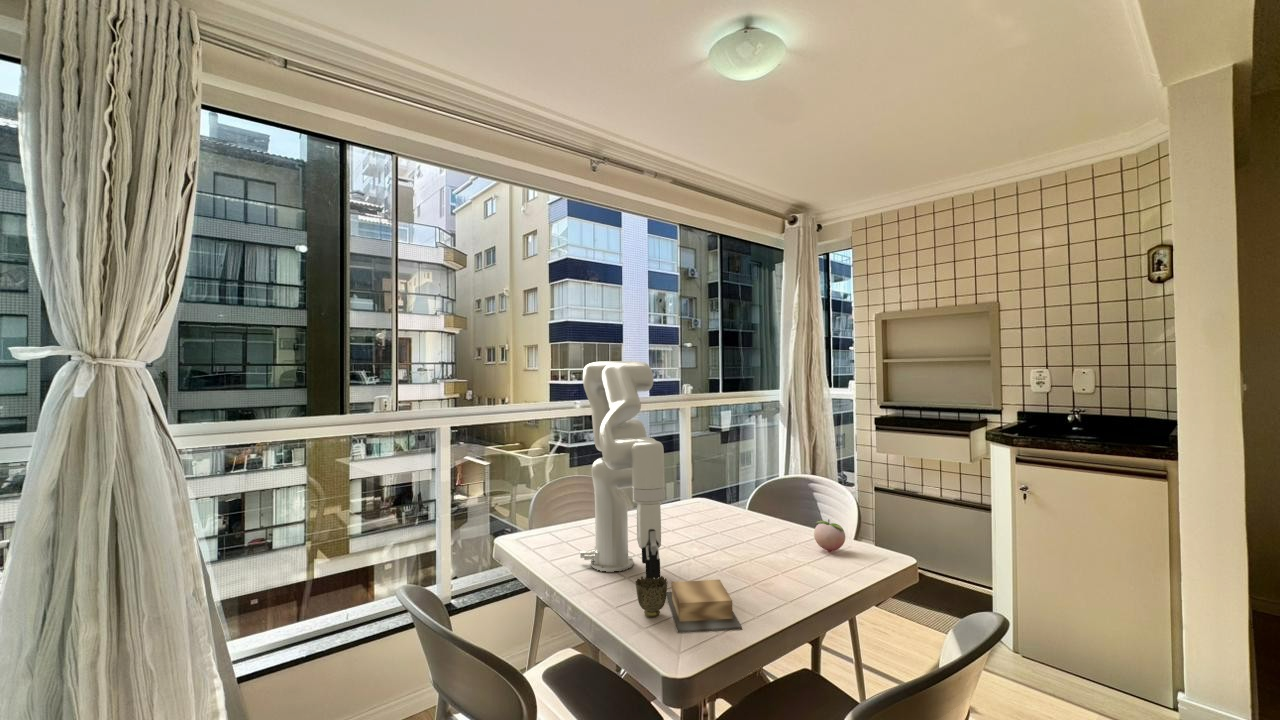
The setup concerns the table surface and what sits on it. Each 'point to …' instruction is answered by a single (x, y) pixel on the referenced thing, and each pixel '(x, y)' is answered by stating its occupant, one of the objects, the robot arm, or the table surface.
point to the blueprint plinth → (701, 606)
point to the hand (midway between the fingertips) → (650, 569)
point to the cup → (651, 595)
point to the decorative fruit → (829, 535)
